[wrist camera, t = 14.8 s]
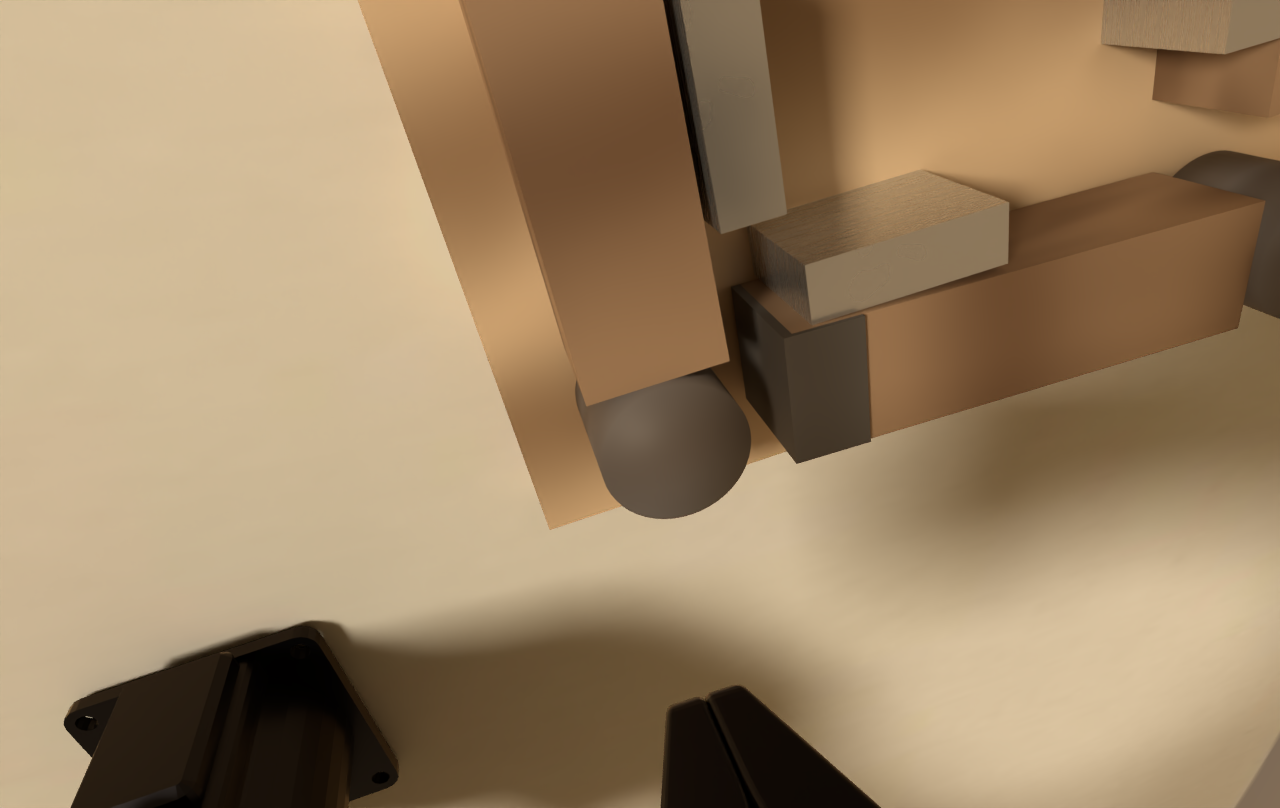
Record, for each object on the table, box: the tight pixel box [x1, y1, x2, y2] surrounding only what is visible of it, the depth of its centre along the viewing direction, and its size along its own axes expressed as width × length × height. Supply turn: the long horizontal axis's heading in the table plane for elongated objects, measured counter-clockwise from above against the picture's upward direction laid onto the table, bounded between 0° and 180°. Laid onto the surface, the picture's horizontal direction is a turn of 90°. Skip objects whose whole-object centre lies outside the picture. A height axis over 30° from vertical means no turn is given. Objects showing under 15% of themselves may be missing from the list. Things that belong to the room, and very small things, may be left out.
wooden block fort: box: [358, 0, 1280, 530], centre depth 15 cm, size 18×20×5 cm
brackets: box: [663, 0, 1280, 325], centre depth 14 cm, size 9×11×3 cm
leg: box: [731, 150, 1280, 464], centre depth 17 cm, size 13×3×3 cm, turn 101°
